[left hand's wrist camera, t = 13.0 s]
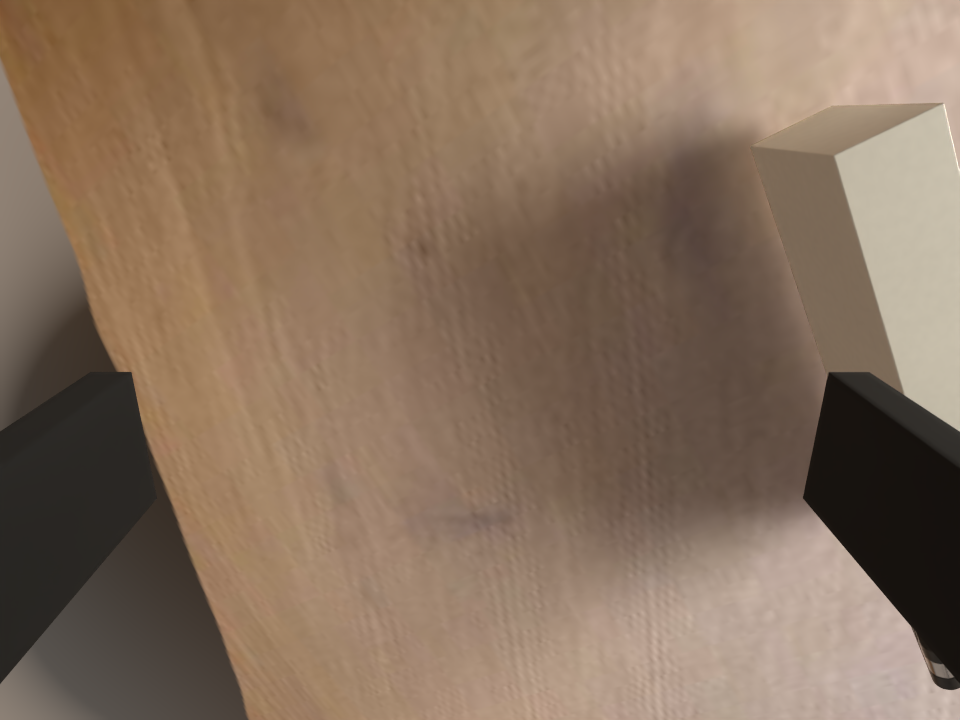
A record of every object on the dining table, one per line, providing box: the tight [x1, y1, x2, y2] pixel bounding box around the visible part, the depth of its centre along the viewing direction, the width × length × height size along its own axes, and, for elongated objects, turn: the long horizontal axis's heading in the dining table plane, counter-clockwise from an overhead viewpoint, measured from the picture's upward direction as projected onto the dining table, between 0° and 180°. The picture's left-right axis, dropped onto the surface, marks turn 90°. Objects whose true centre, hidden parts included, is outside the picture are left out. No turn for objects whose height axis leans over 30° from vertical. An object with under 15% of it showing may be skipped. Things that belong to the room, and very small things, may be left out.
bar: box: [750, 103, 960, 431], centre depth 34 cm, size 26×4×9 cm, turn 27°
